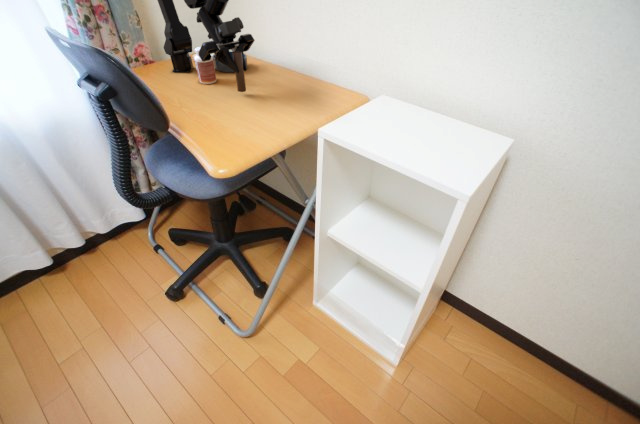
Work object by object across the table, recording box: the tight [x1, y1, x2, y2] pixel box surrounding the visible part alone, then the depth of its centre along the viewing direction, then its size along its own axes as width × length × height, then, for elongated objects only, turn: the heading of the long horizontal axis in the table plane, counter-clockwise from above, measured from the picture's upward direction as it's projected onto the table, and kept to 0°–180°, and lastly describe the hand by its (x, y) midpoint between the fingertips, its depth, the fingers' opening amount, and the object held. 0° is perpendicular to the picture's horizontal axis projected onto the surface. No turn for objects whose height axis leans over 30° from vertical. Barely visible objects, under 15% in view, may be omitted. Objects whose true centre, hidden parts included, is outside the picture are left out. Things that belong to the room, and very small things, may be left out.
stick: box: [233, 51, 247, 93], centre depth 101 cm, size 3×3×12 cm
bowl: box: [211, 50, 249, 74], centre depth 124 cm, size 13×13×4 cm
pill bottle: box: [194, 46, 217, 85], centre depth 110 cm, size 6×6×11 cm
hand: (242, 71), depth 100 cm, fingers closed on stick, 3 cm apart
